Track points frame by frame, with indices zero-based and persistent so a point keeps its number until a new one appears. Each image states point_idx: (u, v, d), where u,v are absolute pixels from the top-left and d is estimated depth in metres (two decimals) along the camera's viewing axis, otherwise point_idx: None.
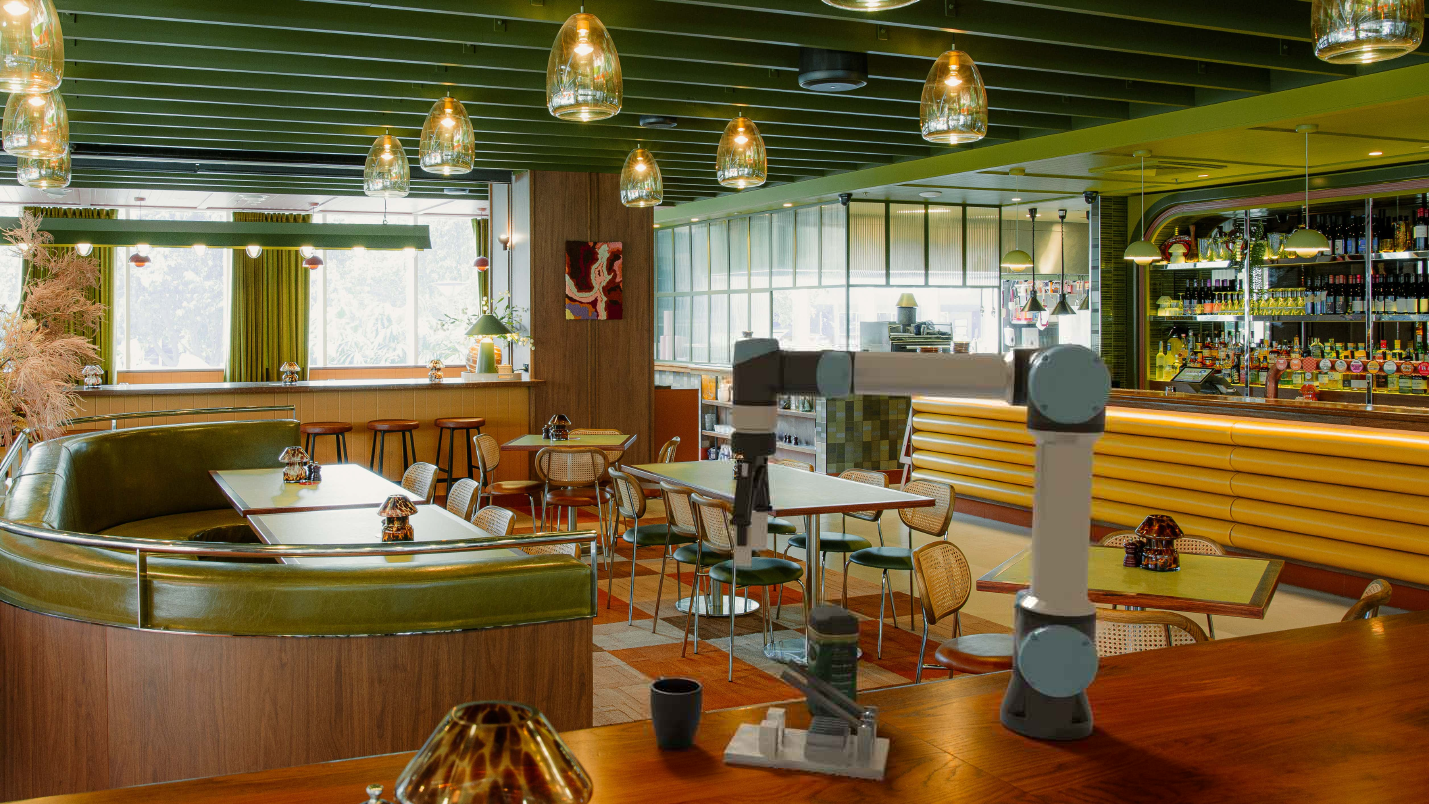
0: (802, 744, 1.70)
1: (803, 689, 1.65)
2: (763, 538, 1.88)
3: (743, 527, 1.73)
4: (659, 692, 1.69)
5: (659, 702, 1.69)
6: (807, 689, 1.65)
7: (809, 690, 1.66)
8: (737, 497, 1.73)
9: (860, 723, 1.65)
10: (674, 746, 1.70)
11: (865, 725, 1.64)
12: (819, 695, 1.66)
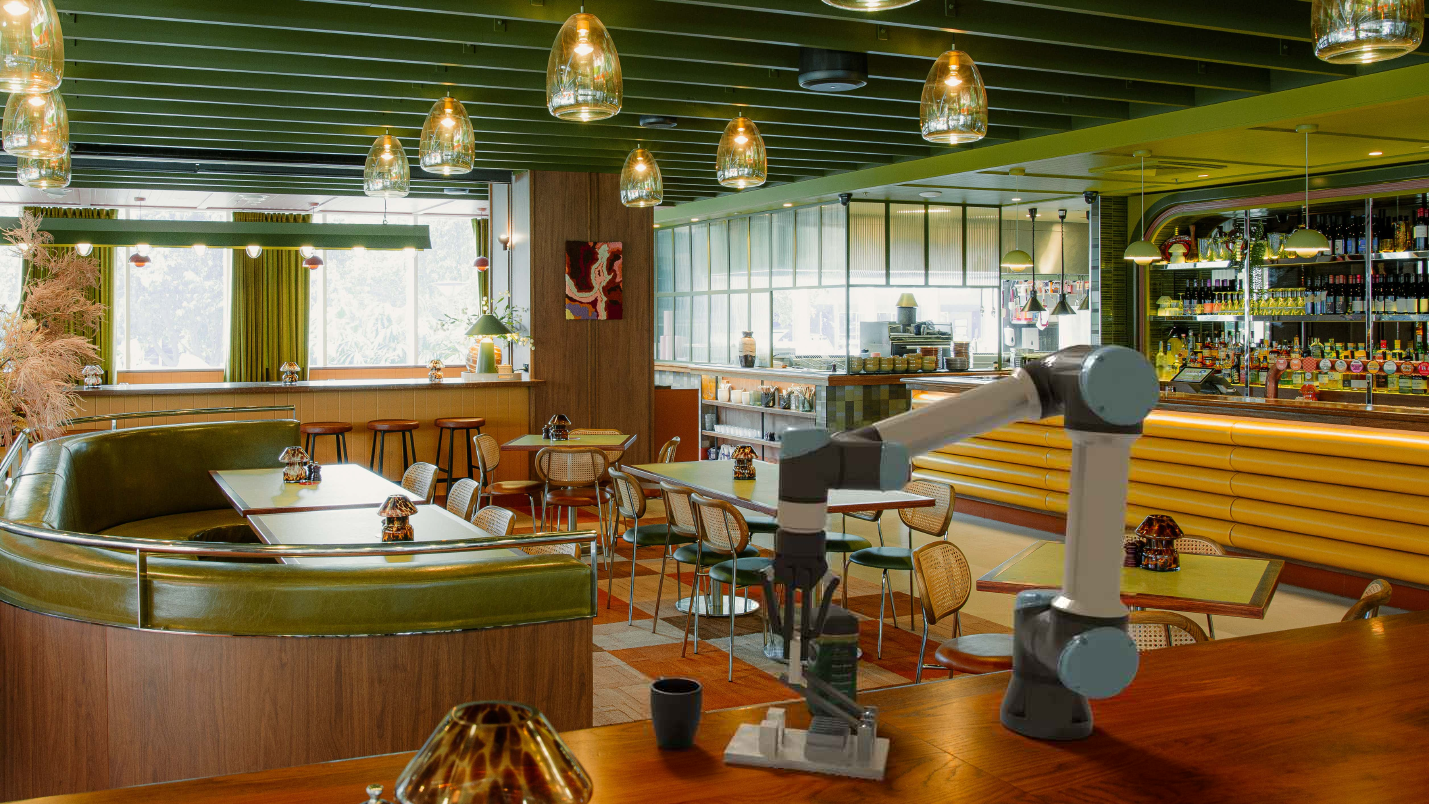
0: (802, 744, 1.70)
1: (801, 691, 1.65)
2: None
3: None
4: (659, 692, 1.69)
5: (659, 702, 1.69)
6: (805, 691, 1.66)
7: (808, 692, 1.66)
8: None
9: (860, 723, 1.65)
10: (674, 746, 1.70)
11: (865, 725, 1.64)
12: (818, 697, 1.66)
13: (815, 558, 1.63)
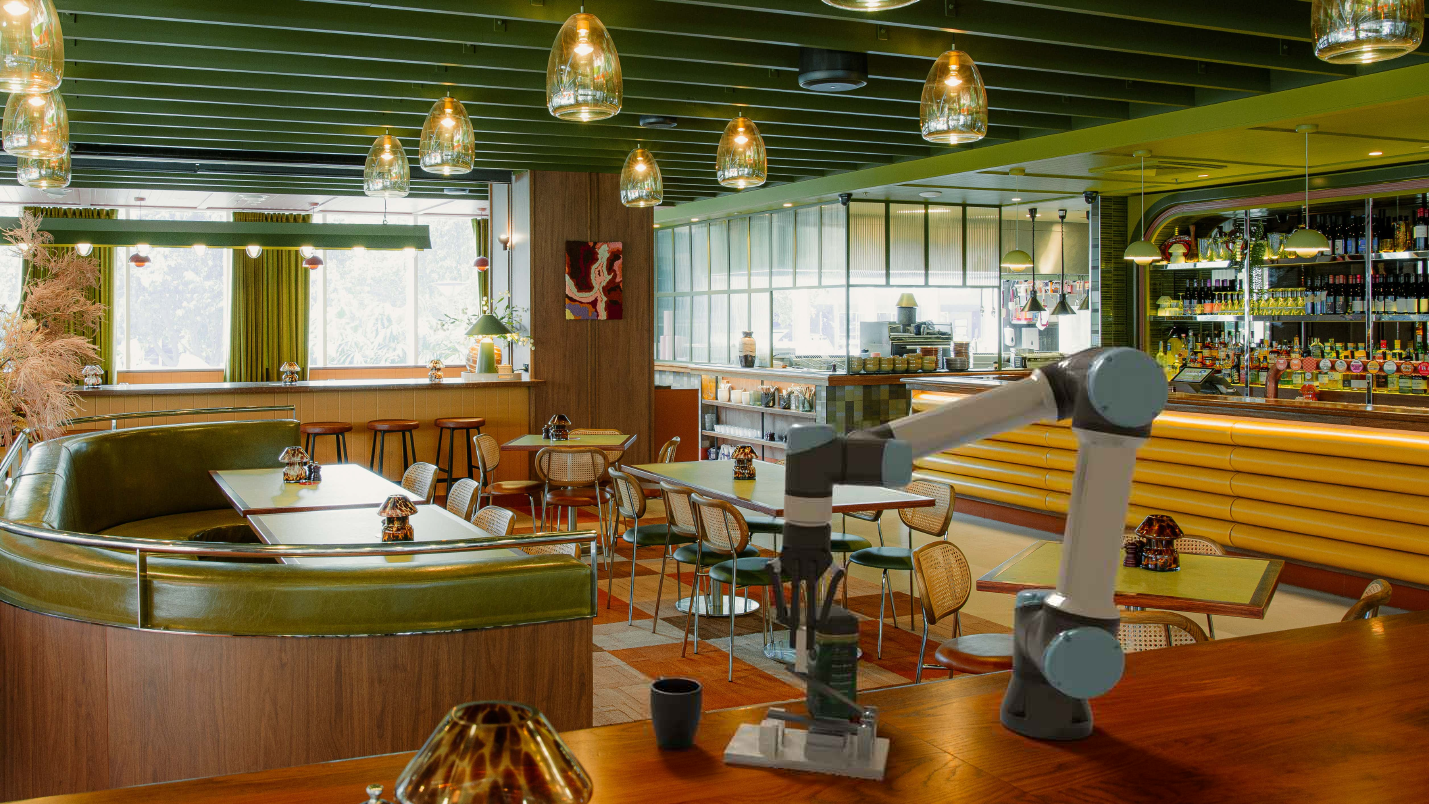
0: (802, 744, 1.70)
1: (792, 718, 1.66)
2: None
3: None
4: (659, 692, 1.69)
5: (659, 702, 1.69)
6: (796, 716, 1.66)
7: (799, 717, 1.66)
8: None
9: (858, 726, 1.65)
10: (674, 746, 1.70)
11: (863, 725, 1.64)
12: (810, 717, 1.66)
13: (820, 550, 1.69)
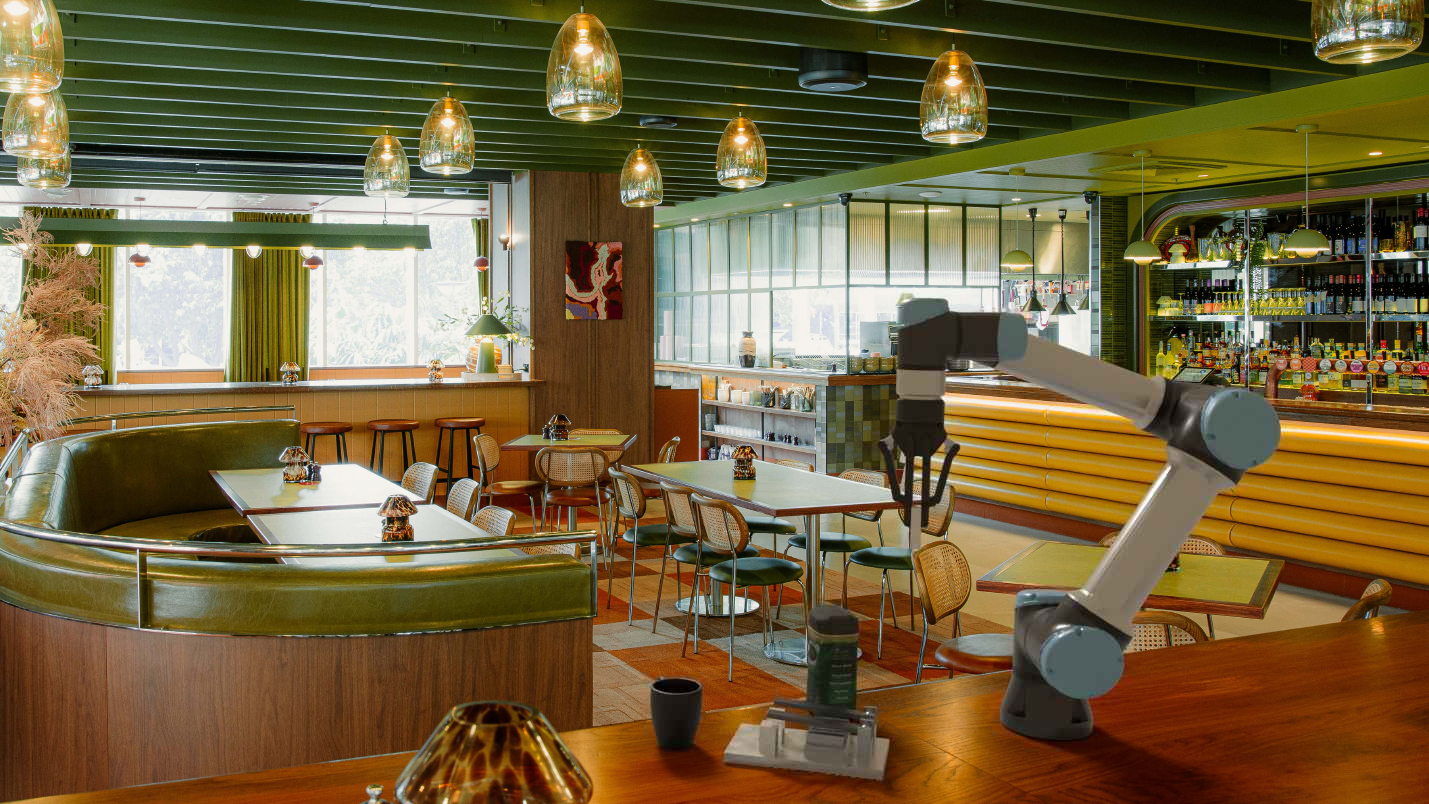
0: (802, 744, 1.70)
1: (792, 718, 1.66)
2: None
3: None
4: (659, 692, 1.69)
5: (659, 702, 1.69)
6: (796, 716, 1.66)
7: (799, 717, 1.66)
8: None
9: (858, 726, 1.65)
10: (674, 746, 1.70)
11: (863, 725, 1.64)
12: (810, 717, 1.66)
13: (935, 425, 1.68)
